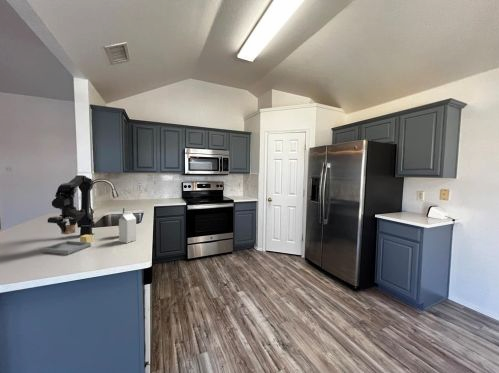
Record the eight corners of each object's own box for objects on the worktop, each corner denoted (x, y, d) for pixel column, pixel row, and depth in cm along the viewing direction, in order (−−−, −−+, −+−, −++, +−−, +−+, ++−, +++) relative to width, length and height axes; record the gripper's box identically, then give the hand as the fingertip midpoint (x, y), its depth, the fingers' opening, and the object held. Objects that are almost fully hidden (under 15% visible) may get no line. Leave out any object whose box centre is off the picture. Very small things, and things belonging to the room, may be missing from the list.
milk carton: (136, 240, 145) (136, 212, 144) (127, 243, 139) (127, 214, 137) (128, 239, 148) (128, 211, 146) (118, 242, 141) (118, 213, 140)
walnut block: (68, 231, 131) (68, 224, 131) (75, 232, 131) (75, 225, 131) (61, 234, 127) (61, 226, 127) (67, 234, 126) (67, 226, 126)
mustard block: (86, 241, 141) (86, 234, 141) (92, 241, 140) (92, 234, 140) (80, 243, 136) (79, 236, 136) (86, 243, 136) (86, 236, 136)
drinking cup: (124, 238, 149) (124, 209, 148) (114, 237, 150) (114, 208, 149) (132, 235, 156) (132, 207, 155) (123, 234, 158) (123, 207, 157)
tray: (67, 244, 133) (67, 240, 133) (90, 246, 131) (90, 242, 131) (43, 252, 120) (43, 248, 119) (68, 255, 117) (68, 250, 117)
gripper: (63, 208, 118) (64, 237, 118) (93, 204, 136) (93, 228, 137) (46, 207, 119) (47, 235, 120) (77, 203, 138) (78, 227, 138)
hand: (68, 231), depth 129 cm, fingers closed on walnut block, 4 cm apart
